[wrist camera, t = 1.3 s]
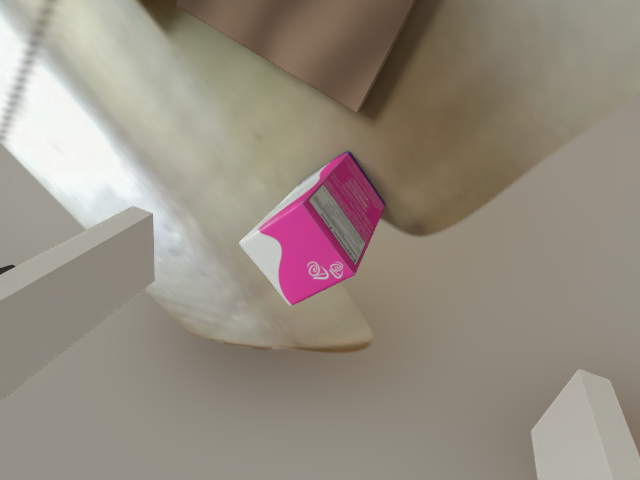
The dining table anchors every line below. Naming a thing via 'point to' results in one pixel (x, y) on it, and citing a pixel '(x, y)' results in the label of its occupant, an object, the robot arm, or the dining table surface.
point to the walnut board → (314, 38)
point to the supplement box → (317, 231)
